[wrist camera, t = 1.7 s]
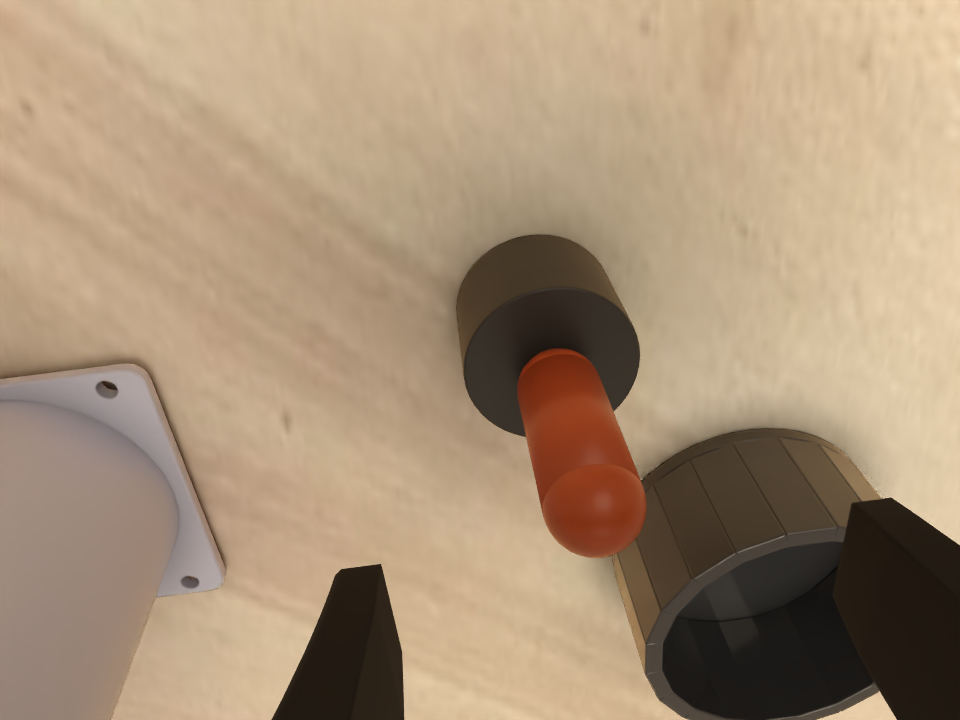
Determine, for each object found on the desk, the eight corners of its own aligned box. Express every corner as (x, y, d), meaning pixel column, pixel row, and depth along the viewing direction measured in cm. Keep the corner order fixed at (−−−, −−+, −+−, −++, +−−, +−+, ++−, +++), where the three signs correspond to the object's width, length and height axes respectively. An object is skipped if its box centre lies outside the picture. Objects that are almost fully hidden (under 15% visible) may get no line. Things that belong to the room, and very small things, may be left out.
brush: (465, 381, 21) (494, 638, 13) (447, 244, 19) (471, 462, 11) (611, 362, 21) (718, 608, 13) (610, 224, 19) (735, 428, 11)
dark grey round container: (611, 632, 26) (643, 747, 23) (609, 447, 22) (647, 552, 19) (843, 601, 27) (911, 711, 23) (886, 411, 22) (976, 509, 19)
